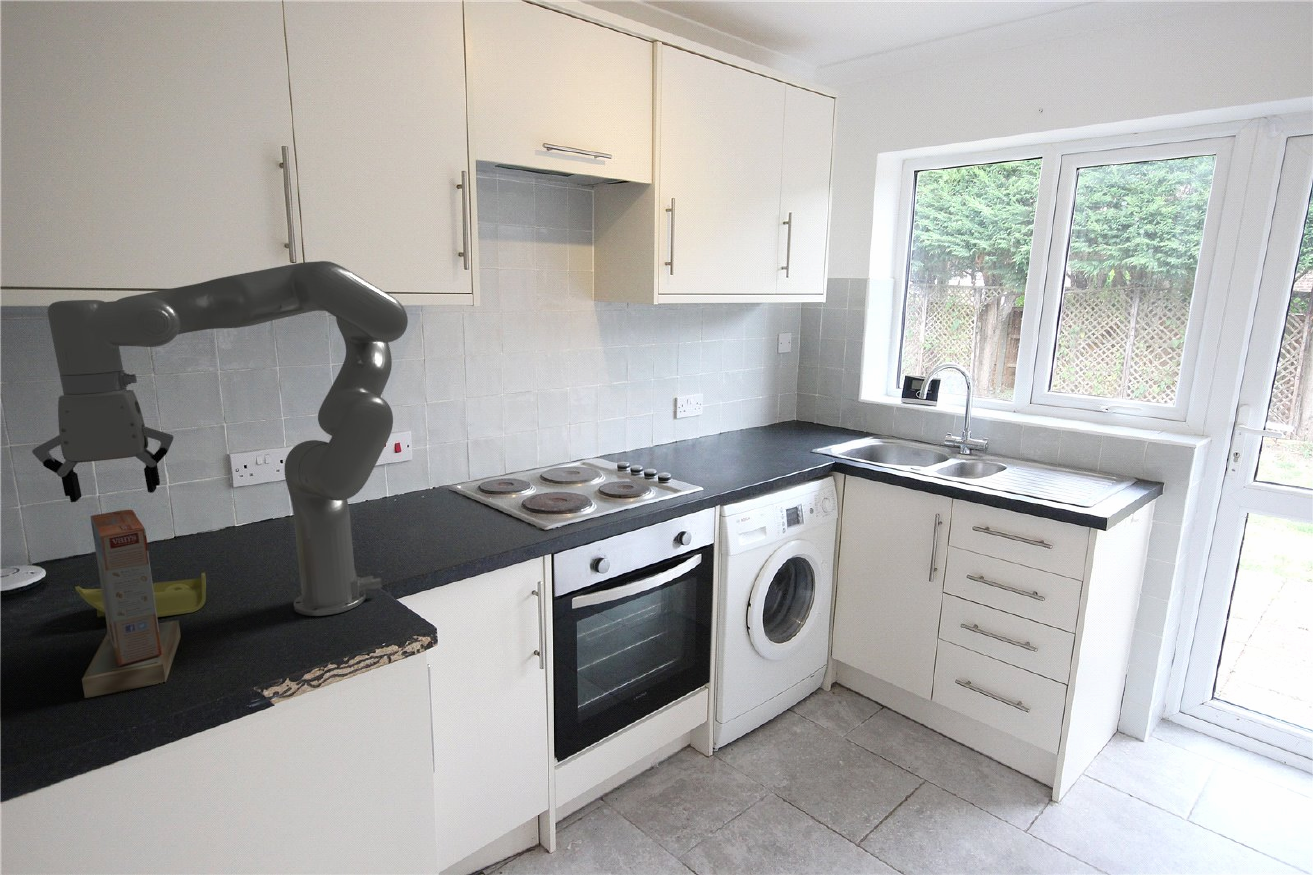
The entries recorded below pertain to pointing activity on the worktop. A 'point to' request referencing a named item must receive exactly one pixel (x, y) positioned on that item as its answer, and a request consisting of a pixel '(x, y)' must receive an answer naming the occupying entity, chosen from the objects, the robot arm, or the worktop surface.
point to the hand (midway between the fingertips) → (115, 495)
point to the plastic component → (162, 597)
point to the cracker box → (126, 585)
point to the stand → (131, 666)
